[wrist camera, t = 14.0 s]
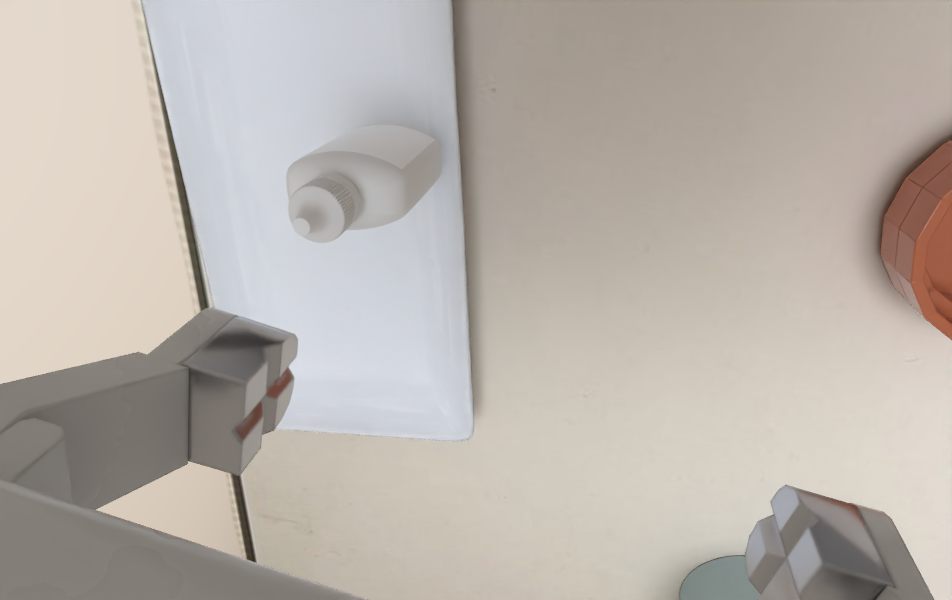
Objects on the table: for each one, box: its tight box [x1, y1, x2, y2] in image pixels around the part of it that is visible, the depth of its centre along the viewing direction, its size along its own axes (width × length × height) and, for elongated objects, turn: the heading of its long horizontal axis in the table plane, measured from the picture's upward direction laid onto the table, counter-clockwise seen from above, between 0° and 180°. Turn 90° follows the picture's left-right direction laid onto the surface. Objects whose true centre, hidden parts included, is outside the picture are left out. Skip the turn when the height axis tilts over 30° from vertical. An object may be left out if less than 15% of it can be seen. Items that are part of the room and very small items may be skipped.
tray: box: [141, 0, 474, 441], centre depth 39 cm, size 17×32×4 cm, turn 2°
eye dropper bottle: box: [286, 123, 442, 243], centre depth 29 cm, size 4×6×12 cm
